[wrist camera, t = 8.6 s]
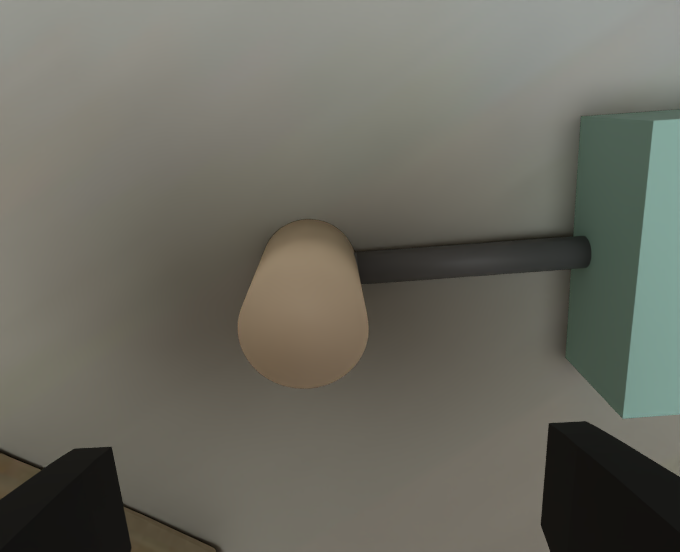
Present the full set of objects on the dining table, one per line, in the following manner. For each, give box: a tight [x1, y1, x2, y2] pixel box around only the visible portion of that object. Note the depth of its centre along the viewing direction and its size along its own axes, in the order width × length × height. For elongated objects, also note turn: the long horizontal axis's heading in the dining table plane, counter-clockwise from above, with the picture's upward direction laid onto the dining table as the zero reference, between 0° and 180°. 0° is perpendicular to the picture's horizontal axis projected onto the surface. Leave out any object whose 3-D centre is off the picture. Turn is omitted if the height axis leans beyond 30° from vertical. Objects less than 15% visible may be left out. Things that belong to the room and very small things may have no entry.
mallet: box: [238, 109, 680, 419], centre depth 15 cm, size 8×20×6 cm, turn 94°
